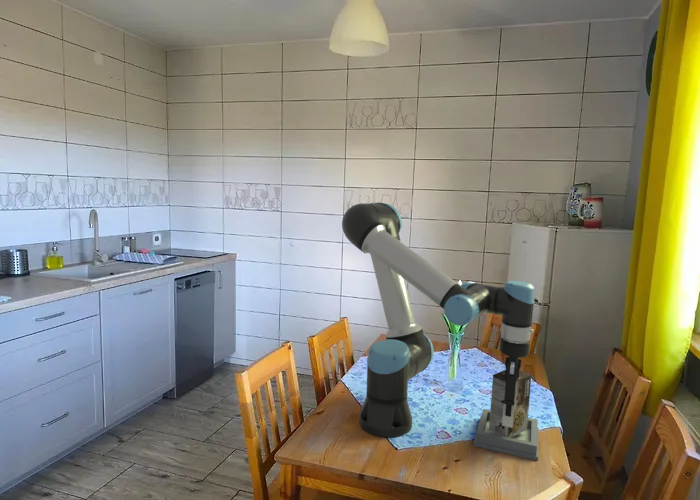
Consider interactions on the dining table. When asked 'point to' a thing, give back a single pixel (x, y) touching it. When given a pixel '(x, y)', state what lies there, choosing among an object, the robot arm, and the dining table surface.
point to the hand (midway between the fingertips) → (508, 416)
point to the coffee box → (519, 409)
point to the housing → (508, 439)
